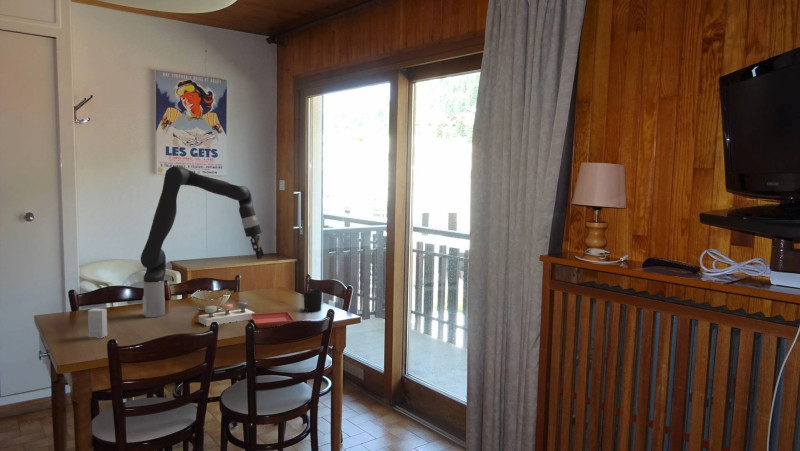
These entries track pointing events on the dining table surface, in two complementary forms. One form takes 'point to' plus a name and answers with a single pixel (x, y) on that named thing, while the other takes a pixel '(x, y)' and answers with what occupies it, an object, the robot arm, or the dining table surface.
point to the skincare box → (97, 323)
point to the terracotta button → (227, 308)
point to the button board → (226, 317)
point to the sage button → (210, 310)
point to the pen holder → (312, 300)
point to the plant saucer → (271, 319)
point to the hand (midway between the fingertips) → (260, 257)
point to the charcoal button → (242, 306)
